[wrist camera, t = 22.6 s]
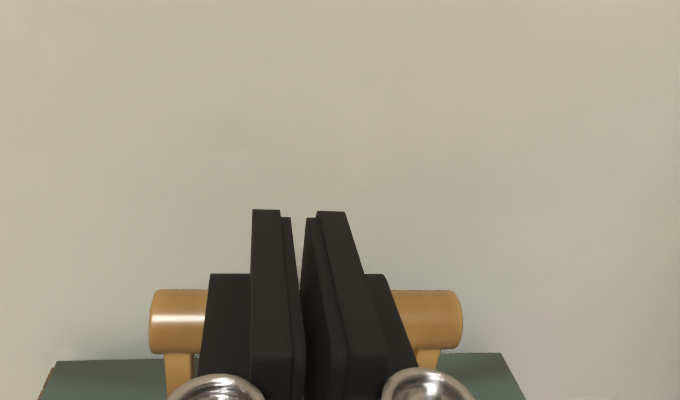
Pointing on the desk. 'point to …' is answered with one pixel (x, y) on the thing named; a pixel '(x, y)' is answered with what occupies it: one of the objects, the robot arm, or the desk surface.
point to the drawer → (180, 367)
